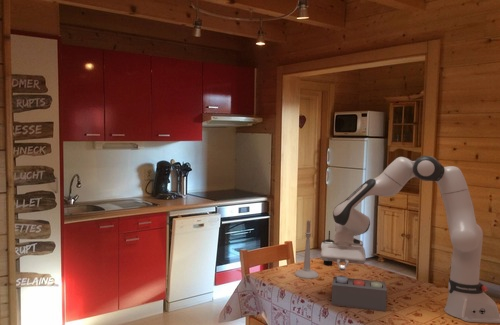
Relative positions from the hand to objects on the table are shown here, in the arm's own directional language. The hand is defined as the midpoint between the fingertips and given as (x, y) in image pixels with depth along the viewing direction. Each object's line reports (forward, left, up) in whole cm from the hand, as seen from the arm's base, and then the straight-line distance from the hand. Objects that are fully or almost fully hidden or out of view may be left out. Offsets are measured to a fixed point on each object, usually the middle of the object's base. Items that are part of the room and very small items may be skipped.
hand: (342, 269), depth 193 cm
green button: (-15, 0, -8) cm, 17 cm away
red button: (-8, 0, -8) cm, 11 cm away
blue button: (0, 0, -7) cm, 7 cm away
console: (-8, 0, -14) cm, 16 cm away
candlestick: (+19, -33, -15) cm, 41 cm away
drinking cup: (+9, -57, -15) cm, 60 cm away
